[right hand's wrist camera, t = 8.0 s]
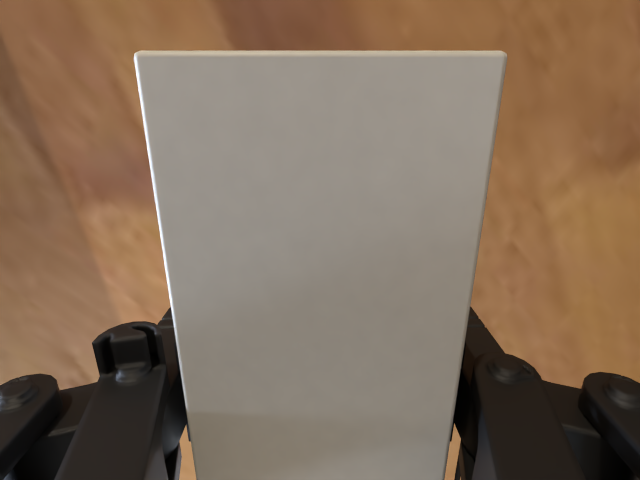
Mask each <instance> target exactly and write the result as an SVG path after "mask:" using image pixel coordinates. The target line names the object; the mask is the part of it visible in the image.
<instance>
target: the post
mask: <svg viewBox="0 0 640 480" xmlns="http://www.w3.org/2000/svg"><path fill="white" fill-rule="evenodd" d="M134 62H135V68H136V75H137V82H138V88H139V95H140V102H141V109H142V115H143V122H144V129H145V136H146V142H147V149H148V156H149V162H150V169H151V176H152V183H153V189H154V196H155V203H156V210H157V216H158V223H159V230H160V236H161V243H162V250H163V257H164V263H165V270H166V277H167V284H168V290H169V297H170V304H171V310H172V317H173V324H174V331H175V337H176V344H177V351H178V358H179V364H180V371H181V378H182V384H183V391H184V398H185V405H186V411H187V418H188V425H189V432H190V438H191V445H192V452H193V459H194V465H195V472H196V479H197V480H444V477H445V471H446V464H447V457H448V451H449V444H450V437H451V430H452V424H453V417H454V410H455V404H456V397H457V390H458V384H459V377H460V370H461V364H462V357H463V350H464V344H465V337H466V330H467V324H468V317H469V310H470V303H471V297H472V290H473V283H474V277H475V270H476V263H477V257H478V250H479V243H480V237H481V230H482V223H483V217H484V210H485V203H486V197H487V190H488V183H489V177H490V170H491V163H492V156H493V150H494V143H495V136H496V130H497V123H498V116H499V110H500V103H501V96H502V90H503V83H504V76H505V70H506V63H507V54H506V53H505V52H503V51H139V52H136V53H135V55H134Z"/></svg>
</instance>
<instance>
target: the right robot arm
mask: <svg viewBox="0 0 640 480" xmlns="http://www.w3.org/2000/svg"><path fill="white" fill-rule="evenodd" d="M92 345H93V349H94V353H95V358H96V362H97V366H98V370H99V374H100V377H99V380H98V382H96V383H92V384H88V385H84V386H79V387H74V388H69V389H65V390H60V391H59V387H58V384H57V380H56V379H55V378H53V377H52V376H51V375H45V374H34V375H26V376H22V377H20V378H15V379H12V380H10V381H8V382H6V383H4V384H2V385H0V480H179V475H180V466H181V457H182V456H181V449H180V443H179V440H180V438H181V435H182V433H183V430H184V428H185V426H186V425H187V432H188V438H189V441H191V438H190V432H189V425H188V418H187V411H186V405H185V398H184V391H183V384H182V378H181V371H180V364H179V358H178V351H177V344H176V337H175V331H174V324H173V317H172V310H171V307H170V308H169V309H168V311H167V312H166V314H165V315H164V316H163V318H162V320H160V322H159V323H158V325H156V324H154V323H150V322H146V321H143V322H130V323H125V324H121V325H118V326H116V327H113V328H110V329H108V330H107V331H105V332H103V333H102V334H100V335H99V336H98V337H97V338H96V339H95V340H94V341H93V342H92ZM454 423H455V426H456V428H457V430H458V433H459V435H460V438H461V443H460V449H459V455H458V461H457V467H456V473H455V480H460V476H461V480H640V383H638V382H636V381H634V380H632V379H630V378H628V377H625V376H621V375H618V374H613V373H604V372H598V373H591V374H589V375H588V376H587V377H585V378H584V381H583V385H582V388H581V389H579V388H574V387H569V386H565V385H560V384H555V383H551V382H547V381H543V380H542V379H541V377H540V375H539V374H538V372H537V371H536V370H535V368H534V367H532V366H531V365H530V364H528V363H527V362H526V361H524V360H522V359H520V358H517V357H515V356H513V355H509V354H505V353H504V351H503V350H502V349H501V347H500V346H499V344H498V343H497V342H496V340H495V339H494V338H493V336H492V335H491V334H490V332H489V331H488V329H487V328H485V325H484V324H483V323H482V321H481V320H480V319H478V316H477V314H476V313H475V312H474V310H473V309H472V308H471V307H470V310H469V317H468V324H467V330H466V337H465V344H464V350H463V357H462V364H461V370H460V377H459V384H458V390H457V397H456V404H455V410H454V417H453V424H452V430H451V437H450V441H451V440H452V433H453V427H454Z"/></svg>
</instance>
